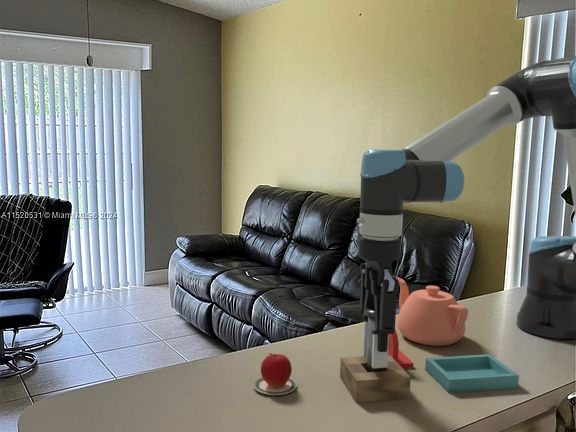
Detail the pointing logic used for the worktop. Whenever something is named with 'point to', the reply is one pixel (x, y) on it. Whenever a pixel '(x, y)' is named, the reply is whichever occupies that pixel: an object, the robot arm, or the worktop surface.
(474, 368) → the tray
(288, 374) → the apple
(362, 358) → the block
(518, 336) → the worktop surface
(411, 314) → the teapot
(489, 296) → the worktop surface
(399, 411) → the worktop surface
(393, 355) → the bracket
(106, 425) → the worktop surface
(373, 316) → the pin
